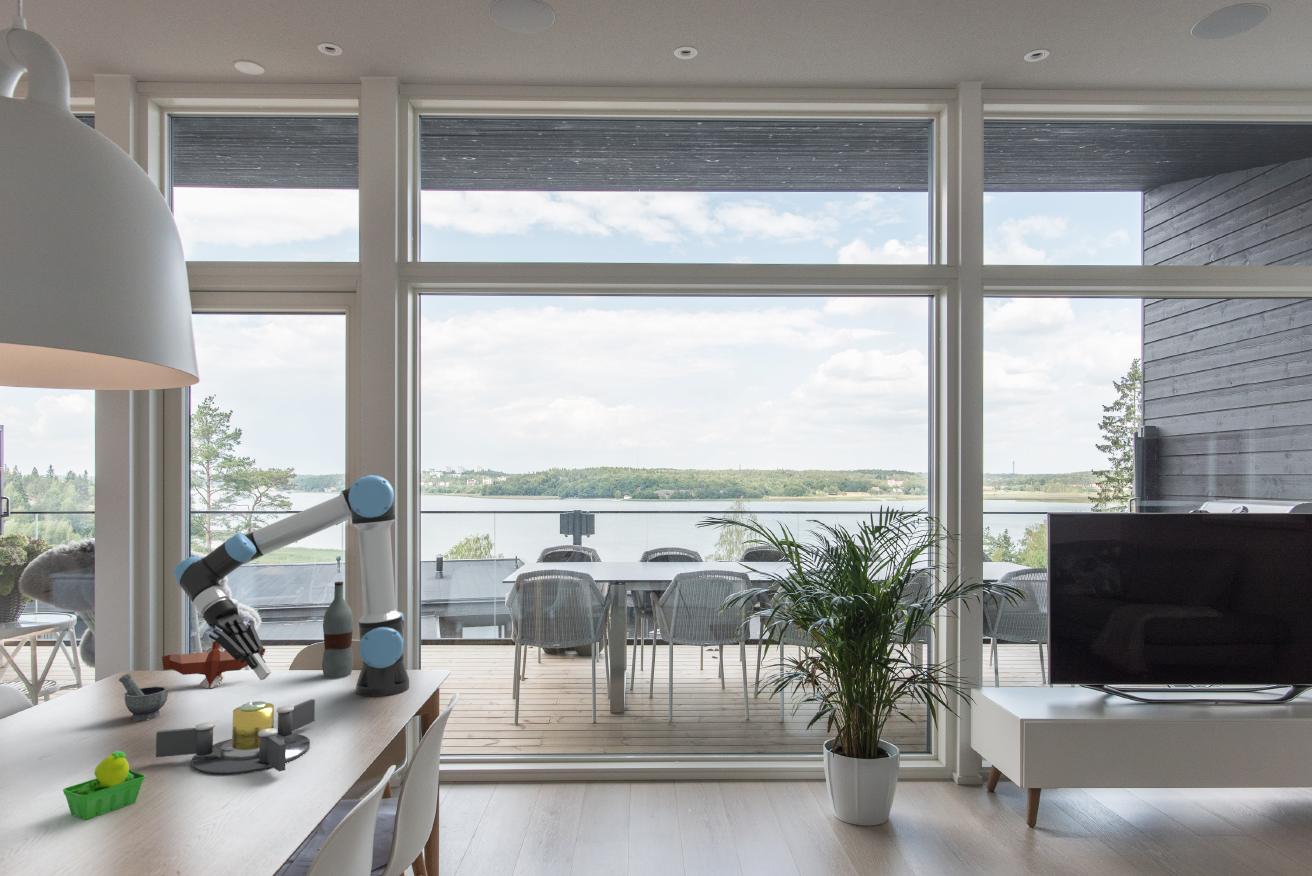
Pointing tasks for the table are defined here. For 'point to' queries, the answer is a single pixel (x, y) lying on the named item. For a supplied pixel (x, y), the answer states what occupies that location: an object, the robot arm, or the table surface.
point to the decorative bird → (205, 664)
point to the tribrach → (247, 743)
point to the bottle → (338, 637)
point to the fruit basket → (105, 788)
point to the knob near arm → (295, 717)
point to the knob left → (272, 749)
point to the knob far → (185, 741)
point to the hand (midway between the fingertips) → (266, 676)
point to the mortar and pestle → (143, 699)
